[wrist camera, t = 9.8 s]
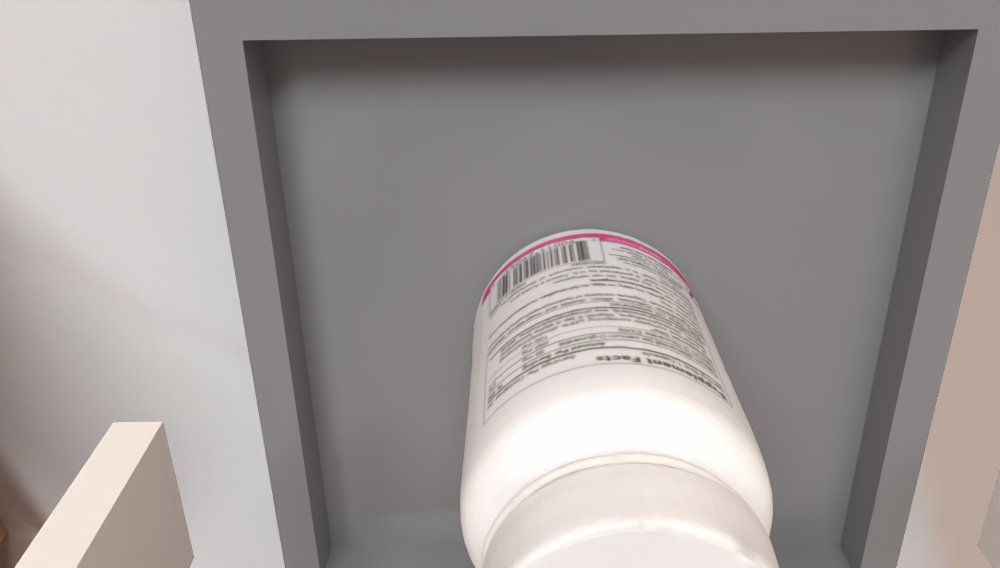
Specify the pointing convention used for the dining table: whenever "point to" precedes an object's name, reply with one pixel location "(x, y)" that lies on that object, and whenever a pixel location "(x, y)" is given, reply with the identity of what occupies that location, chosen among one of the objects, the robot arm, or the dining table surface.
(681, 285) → the pill bottle
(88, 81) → the dining table surface
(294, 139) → the tray
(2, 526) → the walnut block
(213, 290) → the dining table surface
